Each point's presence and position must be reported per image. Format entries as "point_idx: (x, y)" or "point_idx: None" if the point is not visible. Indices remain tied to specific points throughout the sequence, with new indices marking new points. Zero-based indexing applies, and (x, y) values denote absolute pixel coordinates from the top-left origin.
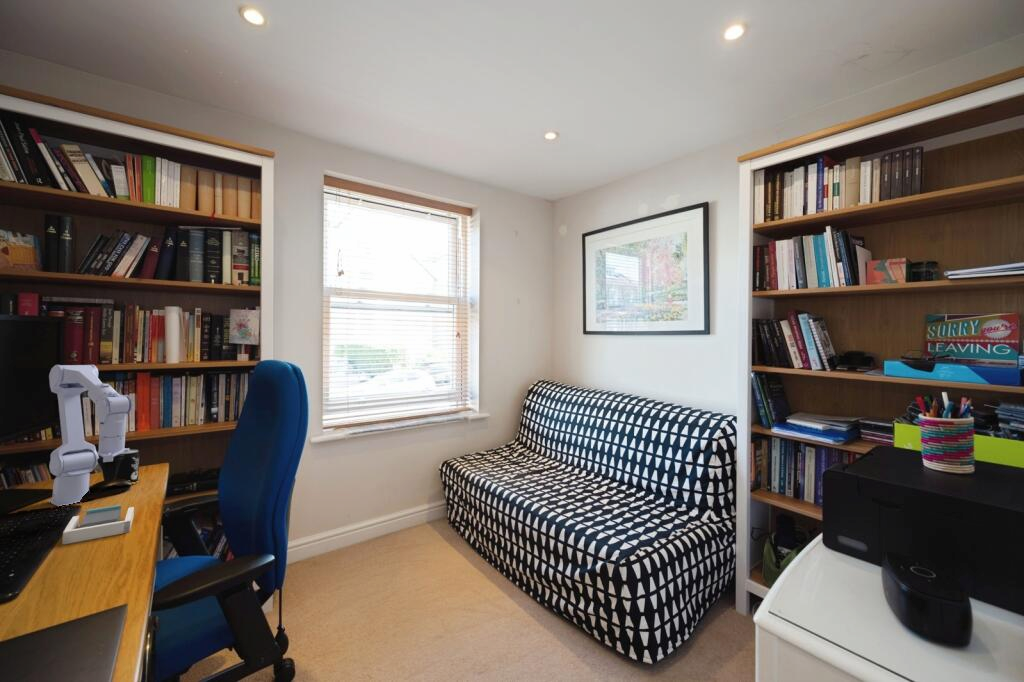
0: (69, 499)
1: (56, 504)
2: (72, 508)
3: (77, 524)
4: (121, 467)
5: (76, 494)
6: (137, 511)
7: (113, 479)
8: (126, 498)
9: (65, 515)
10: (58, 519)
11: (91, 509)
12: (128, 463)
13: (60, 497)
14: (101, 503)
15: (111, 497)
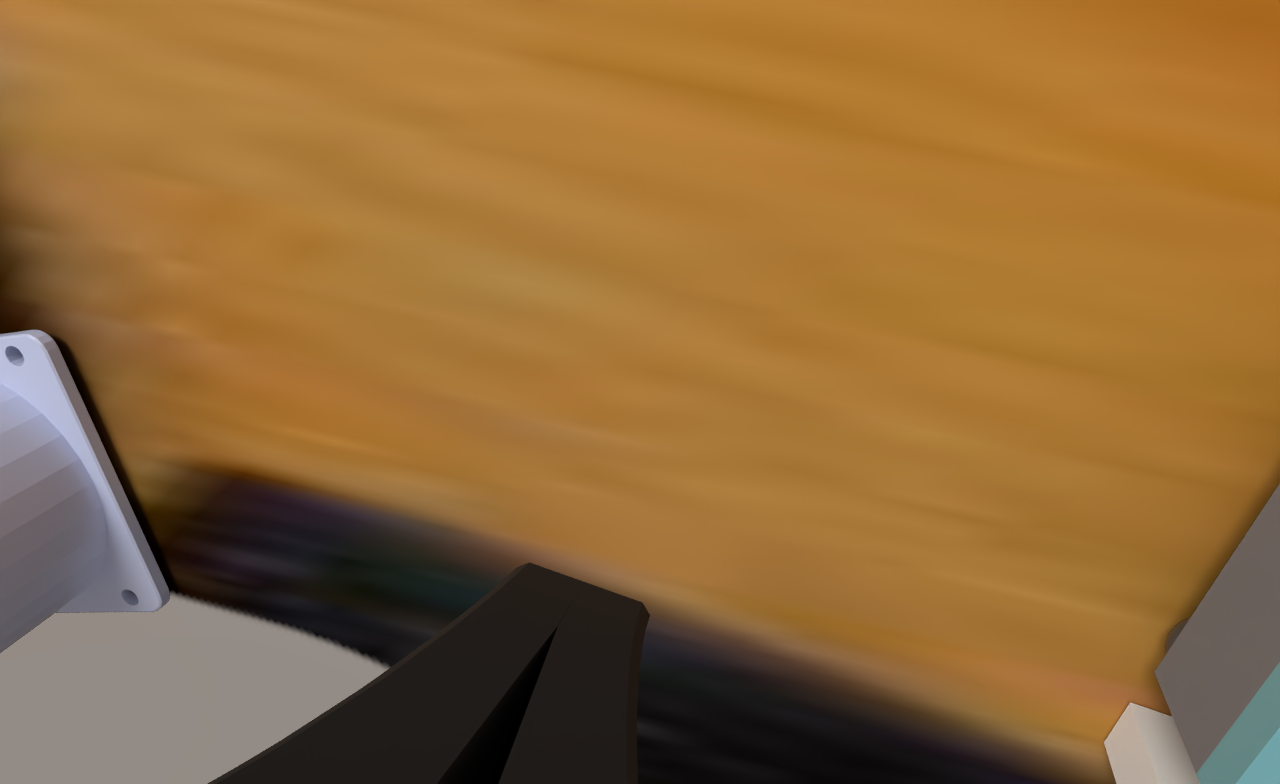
0: (73, 561)
1: (96, 611)
2: (281, 541)
3: None
4: None
5: (19, 540)
6: (1147, 43)
7: (639, 636)
8: (200, 20)
9: None
10: None
11: (1251, 777)
12: None
13: (26, 633)
14: (262, 308)
15: (42, 162)
